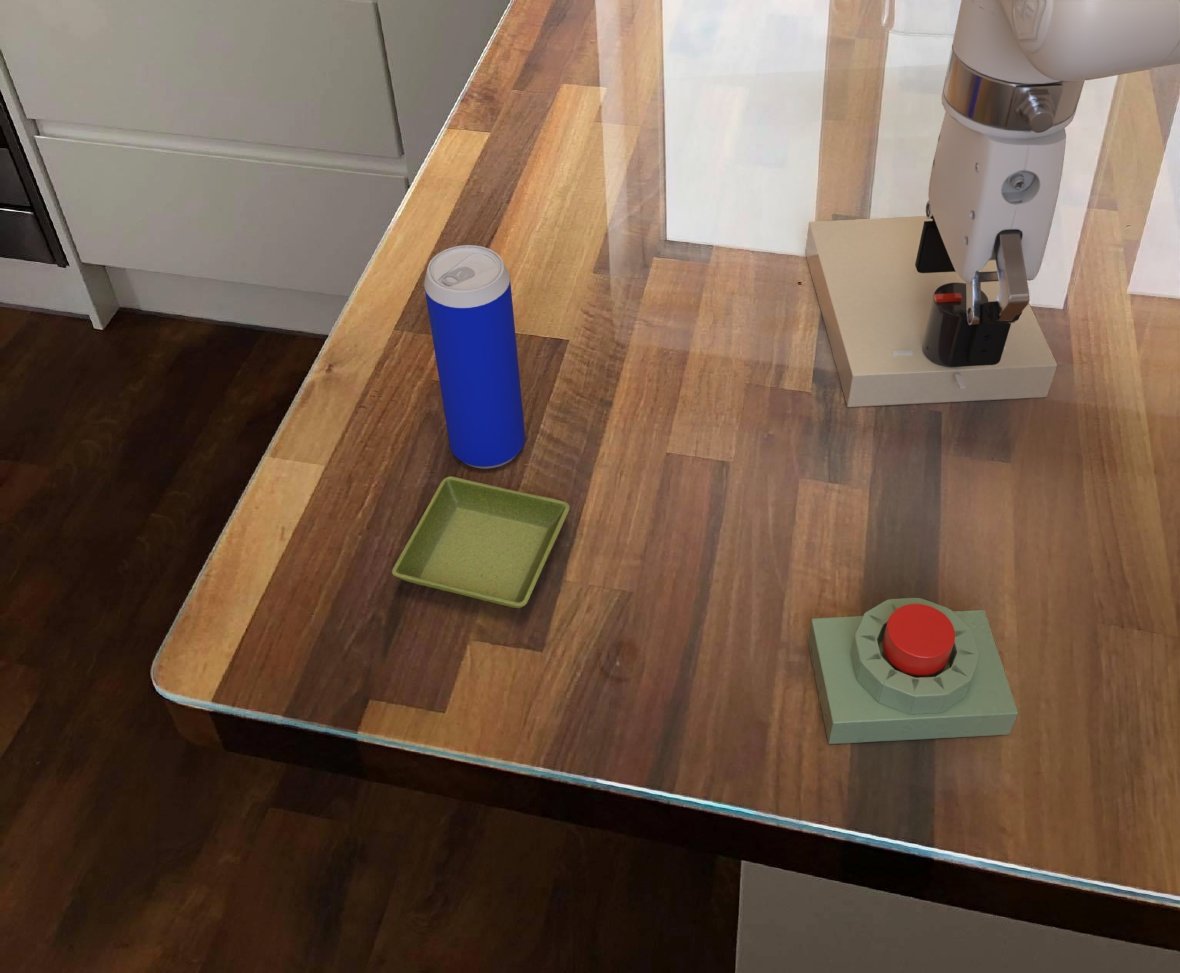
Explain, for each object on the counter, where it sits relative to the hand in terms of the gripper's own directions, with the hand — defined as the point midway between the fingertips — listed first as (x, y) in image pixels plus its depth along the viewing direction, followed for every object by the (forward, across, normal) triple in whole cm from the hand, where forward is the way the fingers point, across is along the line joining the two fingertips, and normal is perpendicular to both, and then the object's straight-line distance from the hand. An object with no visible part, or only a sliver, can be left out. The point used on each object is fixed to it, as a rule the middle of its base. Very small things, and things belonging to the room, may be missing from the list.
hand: (954, 314), depth 82 cm
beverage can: (+6, -4, +32) cm, 33 cm away
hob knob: (+3, 0, 0) cm, 3 cm away
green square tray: (+6, -14, +32) cm, 35 cm away
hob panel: (+6, +7, 0) cm, 9 cm away
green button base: (+6, -25, +8) cm, 27 cm away
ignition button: (+2, -25, +8) cm, 27 cm away
